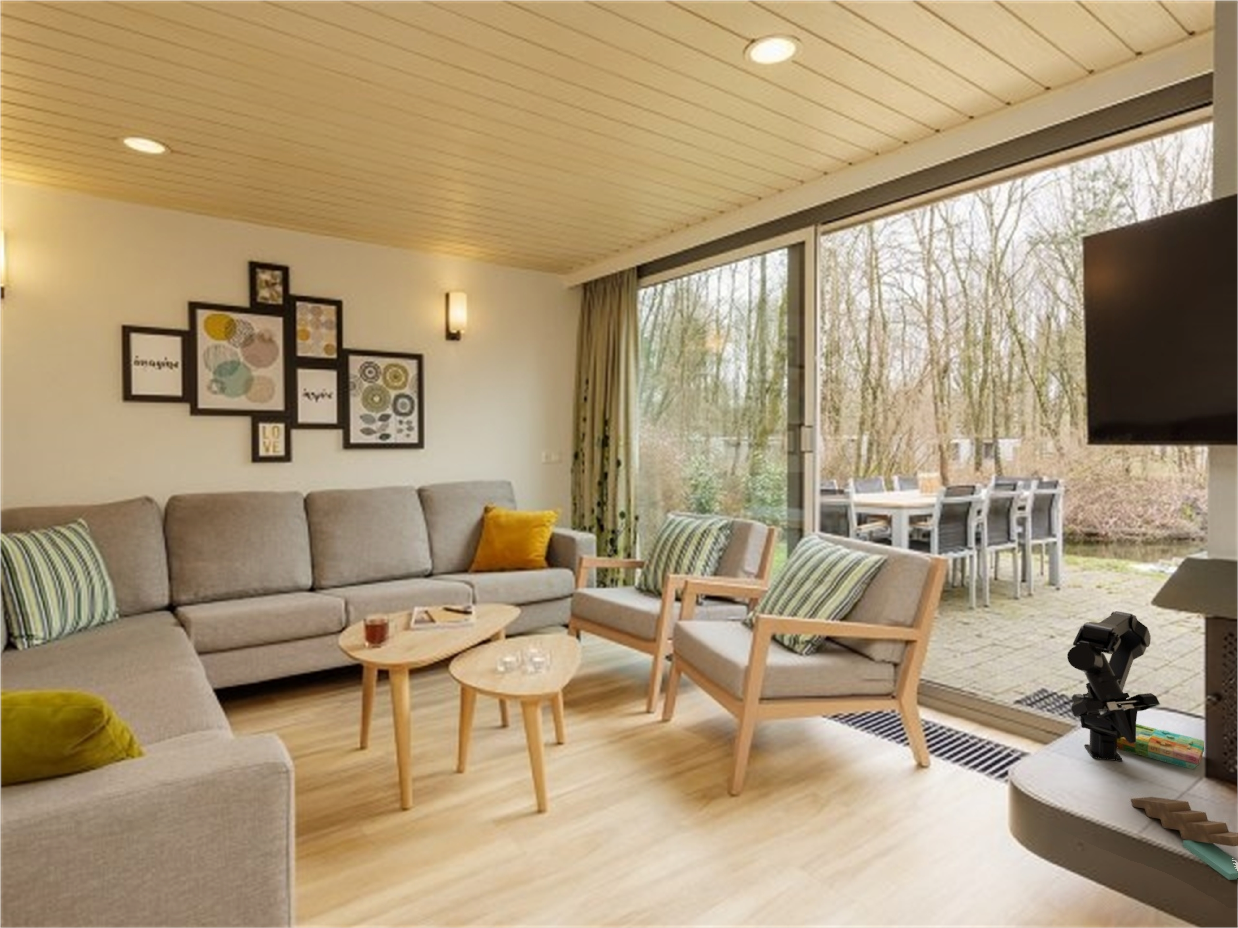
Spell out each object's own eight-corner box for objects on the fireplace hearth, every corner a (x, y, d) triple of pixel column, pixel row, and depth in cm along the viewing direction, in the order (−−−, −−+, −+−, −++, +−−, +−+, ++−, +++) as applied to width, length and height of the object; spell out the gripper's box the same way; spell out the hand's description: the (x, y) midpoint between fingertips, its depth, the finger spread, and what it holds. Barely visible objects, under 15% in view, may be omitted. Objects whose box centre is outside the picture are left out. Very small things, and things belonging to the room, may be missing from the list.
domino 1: (1130, 798, 154) (1166, 803, 145) (1151, 796, 155) (1188, 801, 145) (1132, 806, 154) (1168, 811, 144) (1153, 804, 154) (1191, 809, 145)
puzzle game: (1199, 755, 166) (1099, 729, 180) (1198, 774, 166) (1099, 746, 181) (1205, 738, 174) (1110, 714, 188) (1205, 756, 174) (1109, 731, 189)
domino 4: (1179, 830, 142) (1231, 836, 133) (1197, 827, 143) (1249, 834, 134) (1182, 838, 141) (1234, 846, 132) (1199, 836, 143) (1252, 843, 134)
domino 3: (1160, 818, 146) (1205, 824, 137) (1179, 816, 147) (1225, 822, 138) (1162, 827, 146) (1208, 833, 136) (1182, 825, 147) (1228, 831, 137)
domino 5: (1182, 840, 140) (1229, 873, 130) (1206, 838, 140) (1254, 871, 130) (1182, 847, 140) (1228, 881, 130) (1206, 846, 140) (1253, 879, 130)
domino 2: (1144, 808, 150) (1183, 813, 141) (1165, 806, 151) (1205, 811, 142) (1147, 816, 150) (1185, 822, 141) (1168, 814, 150) (1208, 820, 141)
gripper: (1113, 682, 175) (1145, 747, 167) (1045, 688, 173) (1074, 753, 165) (1143, 668, 166) (1179, 736, 158) (1072, 674, 164) (1104, 743, 155)
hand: (1132, 742), depth 159 cm, fingers closed
